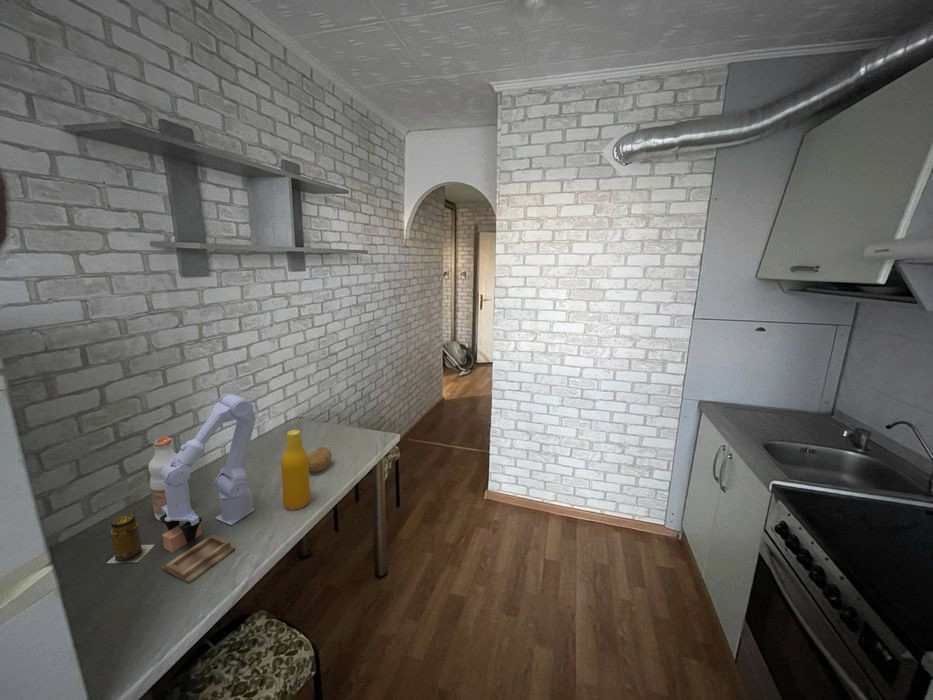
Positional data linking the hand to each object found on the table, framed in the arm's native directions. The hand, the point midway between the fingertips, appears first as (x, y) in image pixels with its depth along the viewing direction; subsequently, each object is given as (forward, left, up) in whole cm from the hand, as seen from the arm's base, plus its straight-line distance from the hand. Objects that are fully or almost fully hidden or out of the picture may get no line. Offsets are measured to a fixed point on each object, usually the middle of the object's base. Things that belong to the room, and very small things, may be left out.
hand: (183, 537), depth 121 cm
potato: (-52, +7, -2) cm, 52 cm away
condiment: (+10, -8, -2) cm, 13 cm away
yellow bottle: (-30, +17, -2) cm, 35 cm away
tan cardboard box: (0, 0, -2) cm, 2 cm away
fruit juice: (-7, -17, -2) cm, 18 cm away
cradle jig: (+3, +12, -1) cm, 12 cm away
